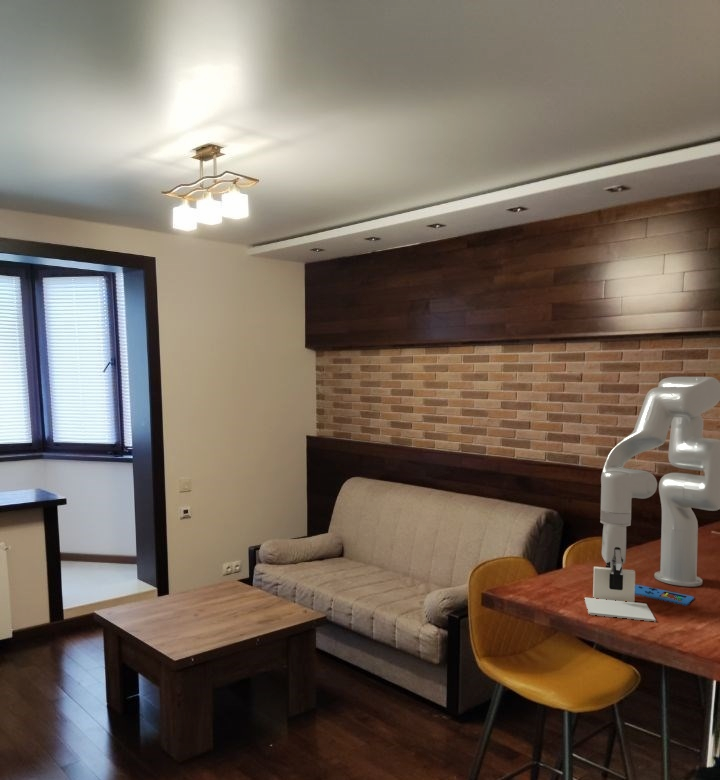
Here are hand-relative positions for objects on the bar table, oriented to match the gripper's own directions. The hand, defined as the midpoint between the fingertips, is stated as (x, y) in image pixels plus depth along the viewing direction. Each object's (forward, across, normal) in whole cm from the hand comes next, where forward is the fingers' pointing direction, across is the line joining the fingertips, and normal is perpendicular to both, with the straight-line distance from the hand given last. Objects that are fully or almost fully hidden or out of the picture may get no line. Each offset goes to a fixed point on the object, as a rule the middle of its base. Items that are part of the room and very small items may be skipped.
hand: (613, 584), depth 166 cm
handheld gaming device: (+4, -8, +13) cm, 16 cm away
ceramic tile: (+4, 0, 0) cm, 4 cm away
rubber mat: (+4, +9, 0) cm, 10 cm away
